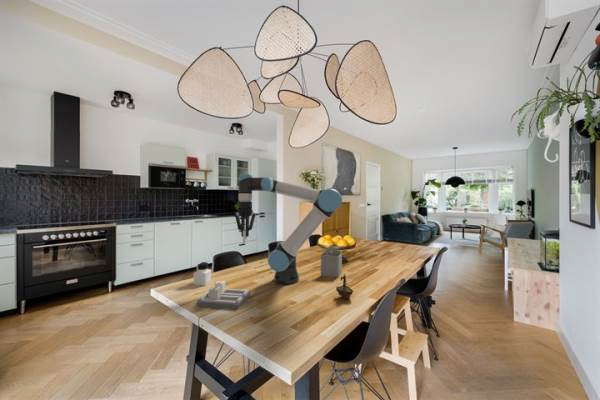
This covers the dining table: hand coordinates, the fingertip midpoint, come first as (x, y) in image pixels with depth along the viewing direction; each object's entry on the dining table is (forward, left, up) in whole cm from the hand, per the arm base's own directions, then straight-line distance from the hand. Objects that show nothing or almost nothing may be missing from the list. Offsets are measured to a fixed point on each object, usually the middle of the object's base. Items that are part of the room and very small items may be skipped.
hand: (245, 242), depth 136 cm
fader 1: (+5, +25, -22) cm, 34 cm away
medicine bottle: (+25, +1, -25) cm, 35 cm away
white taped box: (+6, +17, -22) cm, 29 cm away
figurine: (-56, +9, -25) cm, 62 cm away
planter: (-51, -25, -25) cm, 62 cm away
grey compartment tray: (+2, +21, -24) cm, 32 cm away
